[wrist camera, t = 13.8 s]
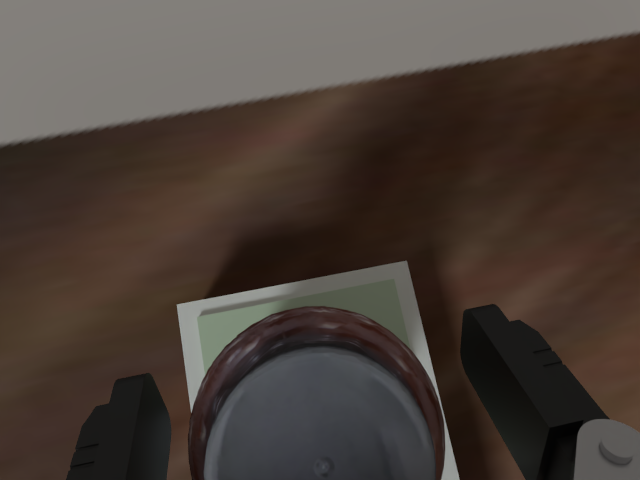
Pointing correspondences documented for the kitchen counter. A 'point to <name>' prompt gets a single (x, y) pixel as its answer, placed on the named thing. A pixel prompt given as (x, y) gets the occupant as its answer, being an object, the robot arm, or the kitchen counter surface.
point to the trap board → (331, 291)
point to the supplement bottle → (316, 404)
